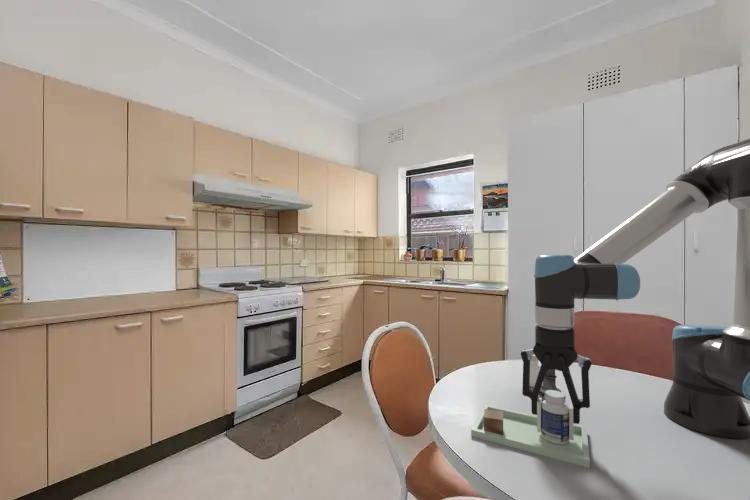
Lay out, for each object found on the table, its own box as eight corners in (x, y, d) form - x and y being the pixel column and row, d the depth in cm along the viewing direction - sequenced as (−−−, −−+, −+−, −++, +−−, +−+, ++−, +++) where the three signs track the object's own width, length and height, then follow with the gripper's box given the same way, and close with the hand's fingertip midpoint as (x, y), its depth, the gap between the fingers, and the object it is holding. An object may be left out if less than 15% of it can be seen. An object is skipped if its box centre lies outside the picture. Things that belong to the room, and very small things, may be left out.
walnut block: (503, 429, 77) (502, 411, 77) (503, 438, 73) (503, 420, 73) (484, 426, 78) (484, 409, 78) (483, 435, 74) (483, 417, 74)
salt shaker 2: (565, 409, 88) (564, 362, 88) (540, 406, 89) (540, 361, 89) (557, 399, 93) (557, 356, 93) (534, 397, 95) (534, 354, 95)
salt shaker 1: (527, 381, 106) (527, 351, 106) (541, 384, 104) (541, 353, 104) (524, 385, 103) (524, 354, 103) (538, 389, 100) (538, 357, 100)
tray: (586, 435, 75) (586, 426, 75) (589, 471, 63) (589, 460, 63) (484, 412, 86) (484, 404, 86) (471, 438, 74) (471, 429, 74)
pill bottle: (569, 448, 69) (568, 401, 69) (540, 440, 72) (539, 395, 72) (570, 436, 74) (569, 391, 74) (542, 429, 76) (542, 386, 76)
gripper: (603, 327, 72) (604, 436, 71) (511, 318, 81) (512, 415, 81) (607, 334, 65) (608, 454, 65) (506, 324, 74) (507, 430, 74)
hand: (555, 432), depth 73 cm, fingers closed on pill bottle, 5 cm apart
